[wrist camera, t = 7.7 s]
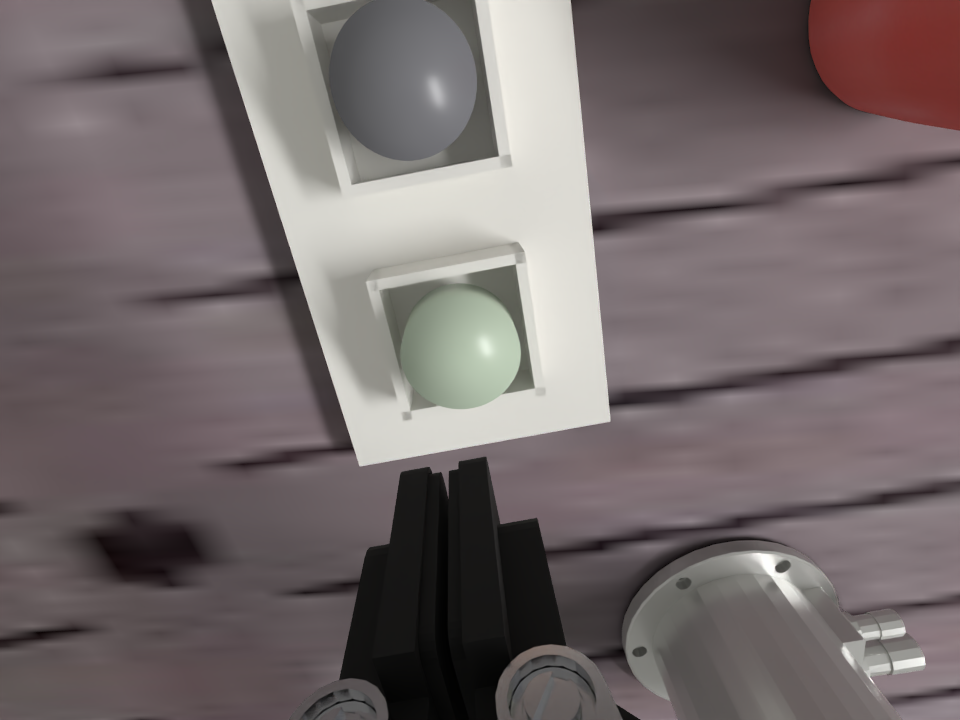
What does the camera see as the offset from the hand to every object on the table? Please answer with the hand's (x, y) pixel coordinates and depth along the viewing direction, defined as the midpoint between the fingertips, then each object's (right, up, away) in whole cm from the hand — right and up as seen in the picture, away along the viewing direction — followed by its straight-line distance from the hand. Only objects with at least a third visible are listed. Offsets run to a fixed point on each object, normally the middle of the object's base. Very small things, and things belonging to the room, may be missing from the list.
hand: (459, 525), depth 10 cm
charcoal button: (-2, +12, +7) cm, 14 cm away
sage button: (0, +4, +11) cm, 12 cm away
